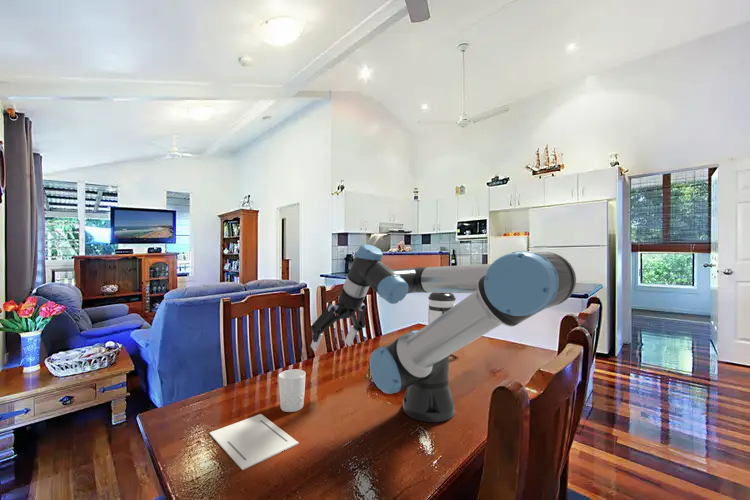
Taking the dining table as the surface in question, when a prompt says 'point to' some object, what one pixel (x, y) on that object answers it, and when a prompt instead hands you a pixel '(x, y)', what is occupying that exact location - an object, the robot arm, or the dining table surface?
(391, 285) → the robot arm
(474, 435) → the dining table surface
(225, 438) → the paper sheet
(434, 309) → the coffee press
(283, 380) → the white cup
